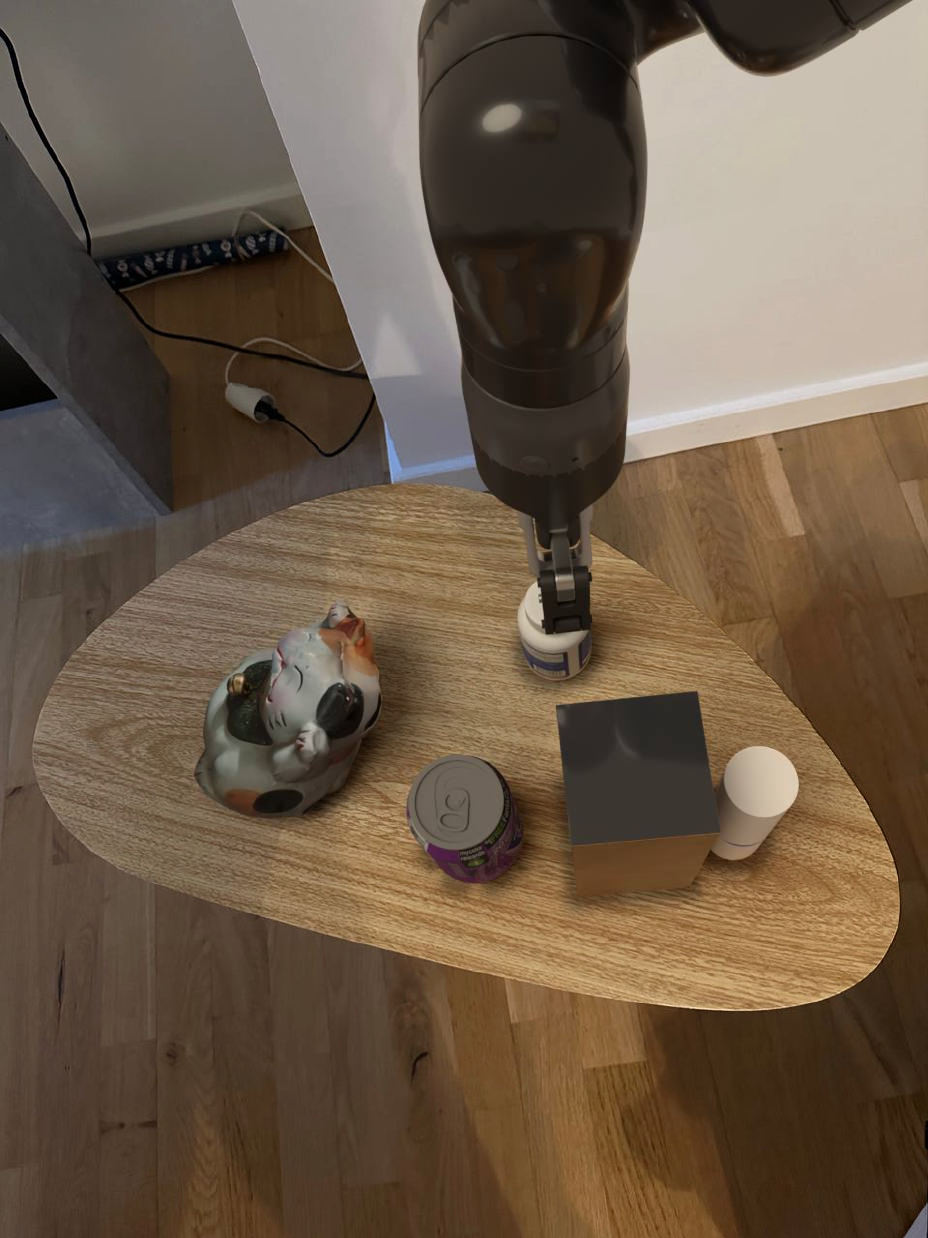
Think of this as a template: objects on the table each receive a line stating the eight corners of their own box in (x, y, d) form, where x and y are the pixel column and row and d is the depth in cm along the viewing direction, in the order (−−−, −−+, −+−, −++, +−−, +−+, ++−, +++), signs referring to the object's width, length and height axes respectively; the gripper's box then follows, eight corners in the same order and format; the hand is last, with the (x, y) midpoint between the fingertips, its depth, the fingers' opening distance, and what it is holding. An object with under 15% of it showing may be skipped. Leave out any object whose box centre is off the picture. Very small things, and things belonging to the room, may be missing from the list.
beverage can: (515, 892, 75) (500, 865, 64) (420, 876, 76) (390, 847, 65) (531, 797, 78) (519, 755, 67) (439, 782, 79) (412, 739, 68)
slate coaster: (696, 692, 59) (697, 690, 58) (719, 834, 56) (720, 832, 55) (555, 707, 59) (555, 704, 59) (570, 847, 56) (570, 846, 56)
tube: (728, 788, 76) (756, 731, 62) (774, 829, 75) (813, 780, 61) (689, 830, 75) (708, 782, 62) (735, 872, 74) (766, 832, 60)
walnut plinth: (673, 777, 77) (696, 692, 59) (690, 887, 74) (719, 834, 56) (566, 787, 78) (555, 707, 59) (577, 897, 75) (570, 847, 56)
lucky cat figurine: (233, 643, 85) (265, 543, 75) (370, 691, 87) (421, 600, 77) (170, 803, 76) (196, 715, 66) (325, 853, 78) (375, 775, 68)
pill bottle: (566, 606, 83) (562, 553, 74) (605, 658, 81) (605, 610, 72) (510, 641, 83) (499, 592, 74) (547, 695, 81) (540, 650, 72)
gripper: (650, 527, 45) (634, 657, 60) (607, 269, 51) (602, 446, 65) (478, 547, 46) (505, 671, 60) (455, 289, 51) (484, 461, 66)
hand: (555, 554), depth 63 cm, fingers open, 8 cm apart
